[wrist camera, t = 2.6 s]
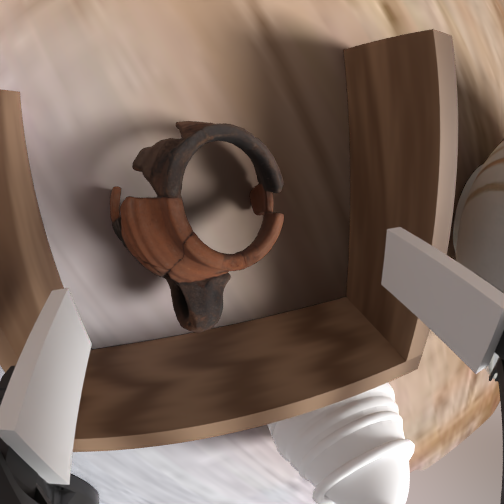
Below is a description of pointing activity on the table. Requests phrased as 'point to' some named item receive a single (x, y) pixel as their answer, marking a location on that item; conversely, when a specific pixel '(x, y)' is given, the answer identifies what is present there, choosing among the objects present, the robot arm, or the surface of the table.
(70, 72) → the table surface
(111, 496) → the table surface
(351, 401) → the honey pot
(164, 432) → the walnut u-shaped frame
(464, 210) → the decorative bowl
